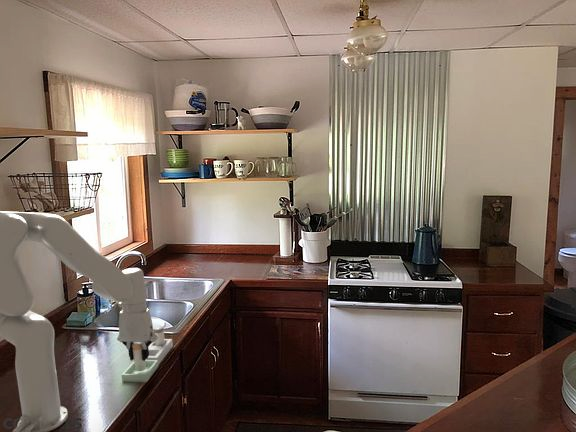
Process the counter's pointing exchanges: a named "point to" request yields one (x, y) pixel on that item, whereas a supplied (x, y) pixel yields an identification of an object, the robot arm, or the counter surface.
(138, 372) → the tray
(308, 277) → the counter surface
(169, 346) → the holder block
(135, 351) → the cylinder
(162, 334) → the cylinder
